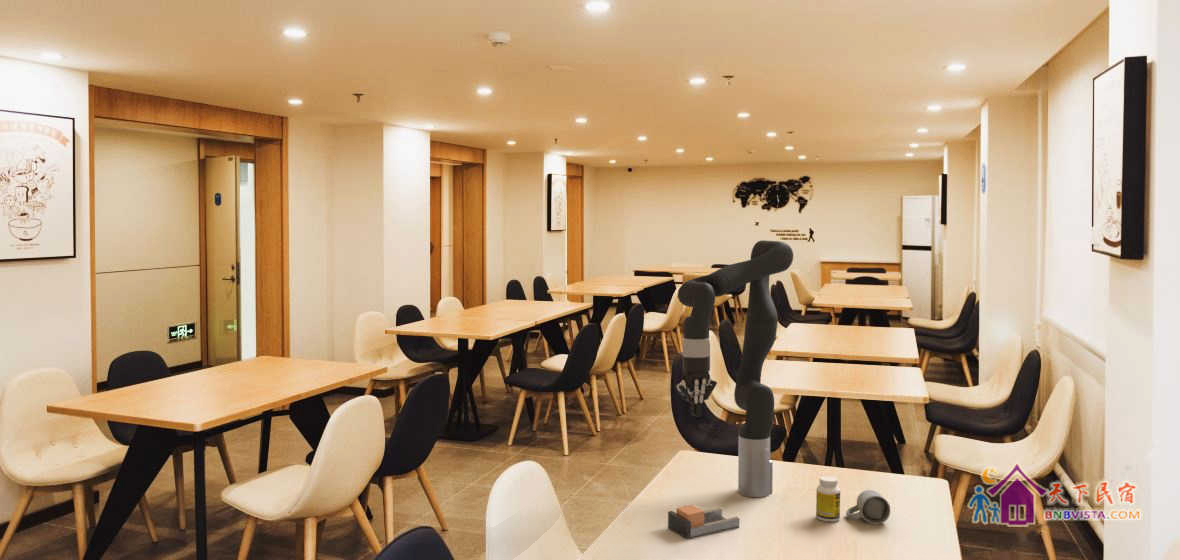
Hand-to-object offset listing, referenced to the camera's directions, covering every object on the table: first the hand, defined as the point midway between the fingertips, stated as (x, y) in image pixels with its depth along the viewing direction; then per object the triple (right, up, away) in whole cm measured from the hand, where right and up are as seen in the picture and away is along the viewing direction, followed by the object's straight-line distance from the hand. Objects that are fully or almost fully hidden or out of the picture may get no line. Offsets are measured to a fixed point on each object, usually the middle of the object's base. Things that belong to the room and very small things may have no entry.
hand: (696, 415), depth 219 cm
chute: (+1, -28, -10) cm, 30 cm away
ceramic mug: (+46, -27, -5) cm, 54 cm away
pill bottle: (+35, -27, -4) cm, 45 cm away
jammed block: (-3, -28, -12) cm, 31 cm away
